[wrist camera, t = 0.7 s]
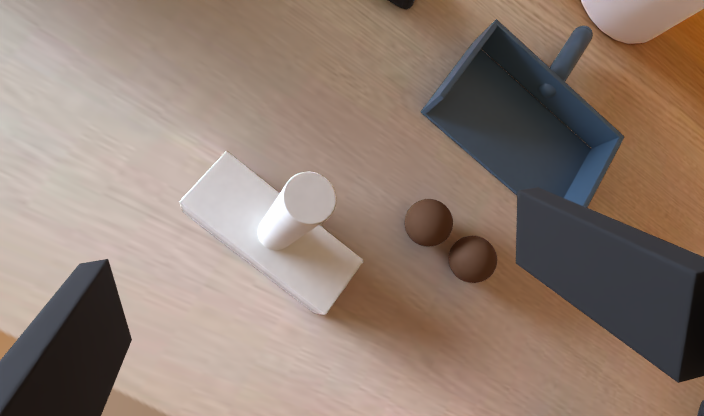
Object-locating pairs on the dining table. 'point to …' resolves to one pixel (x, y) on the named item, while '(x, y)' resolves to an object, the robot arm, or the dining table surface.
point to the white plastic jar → (639, 17)
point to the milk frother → (701, 409)
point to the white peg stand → (276, 229)
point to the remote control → (403, 3)
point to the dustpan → (525, 116)
